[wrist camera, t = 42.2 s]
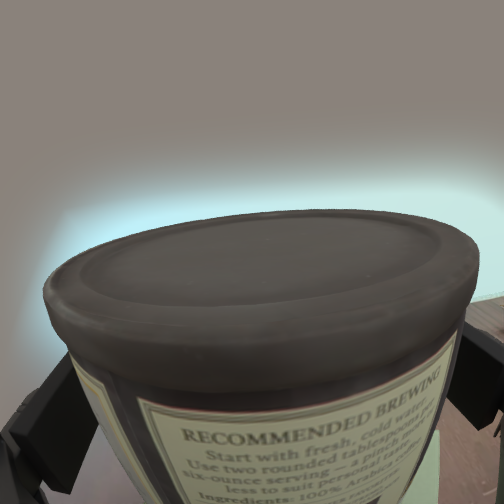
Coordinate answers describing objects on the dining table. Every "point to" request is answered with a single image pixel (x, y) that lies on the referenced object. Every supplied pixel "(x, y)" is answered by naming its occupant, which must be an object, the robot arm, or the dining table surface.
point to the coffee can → (269, 351)
